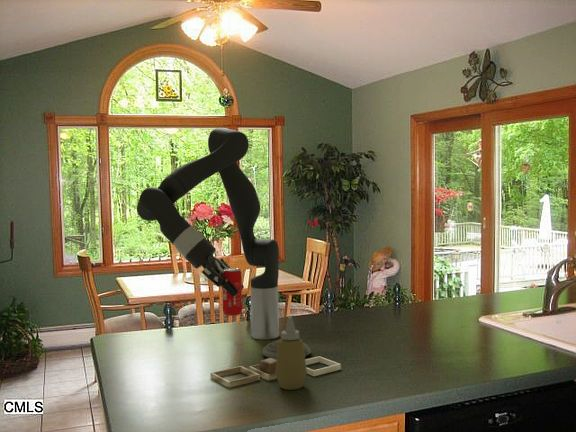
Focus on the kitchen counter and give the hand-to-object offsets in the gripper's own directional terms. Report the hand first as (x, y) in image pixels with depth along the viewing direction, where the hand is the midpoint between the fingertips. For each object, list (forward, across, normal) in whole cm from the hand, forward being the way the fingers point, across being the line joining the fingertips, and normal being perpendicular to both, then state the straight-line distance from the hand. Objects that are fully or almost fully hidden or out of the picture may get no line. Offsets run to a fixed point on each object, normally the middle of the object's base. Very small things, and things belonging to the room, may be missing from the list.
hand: (238, 291), depth 160 cm
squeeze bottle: (+27, -4, +7) cm, 28 cm away
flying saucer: (+23, +23, +11) cm, 34 cm away
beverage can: (+3, 0, +6) cm, 6 cm away
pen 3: (+30, +11, +3) cm, 32 cm away
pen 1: (+16, 0, +18) cm, 24 cm away
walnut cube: (+22, +4, +12) cm, 25 cm away
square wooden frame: (+22, +6, +11) cm, 26 cm away
